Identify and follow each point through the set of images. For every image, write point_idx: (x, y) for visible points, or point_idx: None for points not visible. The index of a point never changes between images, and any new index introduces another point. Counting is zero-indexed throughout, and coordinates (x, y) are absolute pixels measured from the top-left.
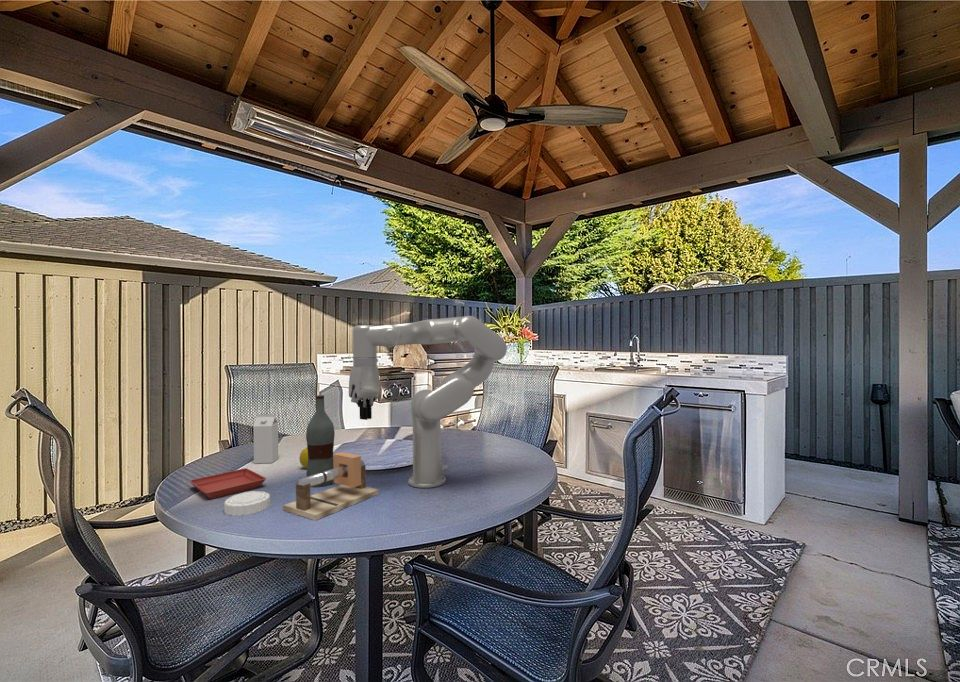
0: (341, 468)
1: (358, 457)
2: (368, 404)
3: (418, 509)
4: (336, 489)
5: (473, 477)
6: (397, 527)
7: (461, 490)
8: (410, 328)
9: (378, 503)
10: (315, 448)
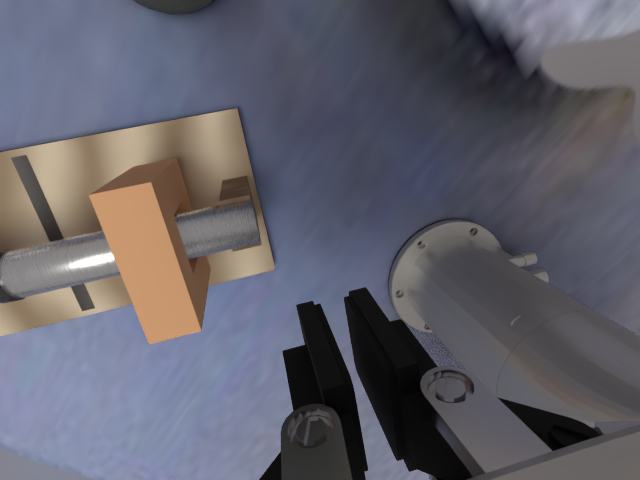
0: (115, 272)
1: (185, 331)
2: (425, 465)
3: (280, 422)
4: (156, 157)
5: None
6: (175, 476)
7: None
8: None
9: (227, 328)
10: None
